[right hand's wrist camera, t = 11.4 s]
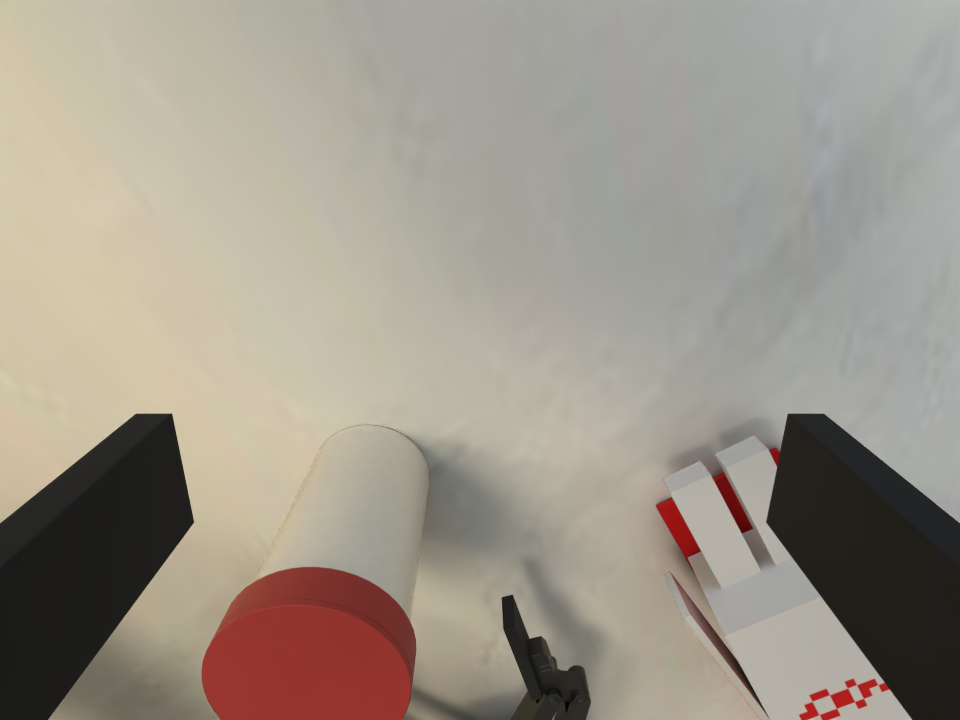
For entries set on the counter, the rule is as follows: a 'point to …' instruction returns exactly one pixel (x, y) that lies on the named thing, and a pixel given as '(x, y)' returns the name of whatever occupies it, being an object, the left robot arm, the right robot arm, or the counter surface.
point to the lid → (311, 650)
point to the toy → (764, 598)
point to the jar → (359, 512)
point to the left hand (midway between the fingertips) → (409, 635)
